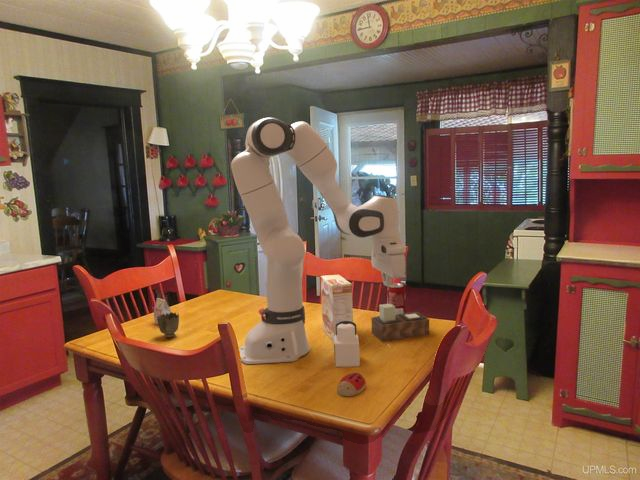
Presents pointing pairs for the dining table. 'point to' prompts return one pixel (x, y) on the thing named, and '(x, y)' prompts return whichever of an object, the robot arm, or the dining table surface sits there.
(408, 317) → the peg far cream
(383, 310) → the peg near sage
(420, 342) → the dining table surface
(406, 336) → the walnut block
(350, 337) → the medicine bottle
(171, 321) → the cup
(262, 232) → the robot arm
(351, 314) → the coffeecake box
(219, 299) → the dining table surface
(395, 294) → the soda can
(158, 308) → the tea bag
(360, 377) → the ladybug figurine
